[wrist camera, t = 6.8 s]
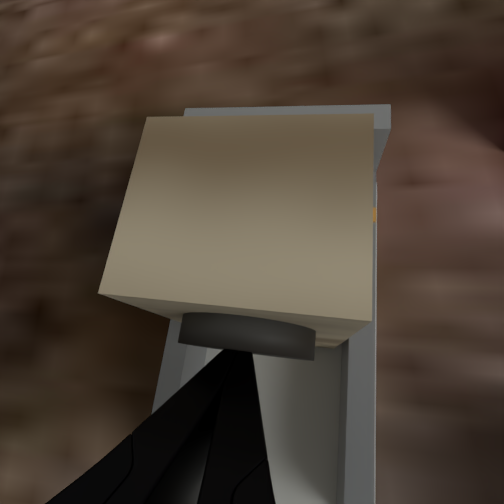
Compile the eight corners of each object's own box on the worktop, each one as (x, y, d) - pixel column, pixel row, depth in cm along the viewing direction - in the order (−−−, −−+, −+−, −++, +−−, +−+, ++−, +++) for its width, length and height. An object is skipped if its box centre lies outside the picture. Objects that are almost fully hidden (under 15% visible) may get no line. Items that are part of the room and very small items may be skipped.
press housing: (371, 568, 14) (425, 742, 7) (152, 515, 16) (45, 616, 9) (374, 190, 19) (406, 103, 13) (213, 185, 21) (173, 108, 15)
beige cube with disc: (333, 366, 15) (371, 364, 6) (212, 350, 17) (88, 328, 7) (338, 250, 17) (374, 113, 8) (228, 244, 18) (147, 116, 9)
